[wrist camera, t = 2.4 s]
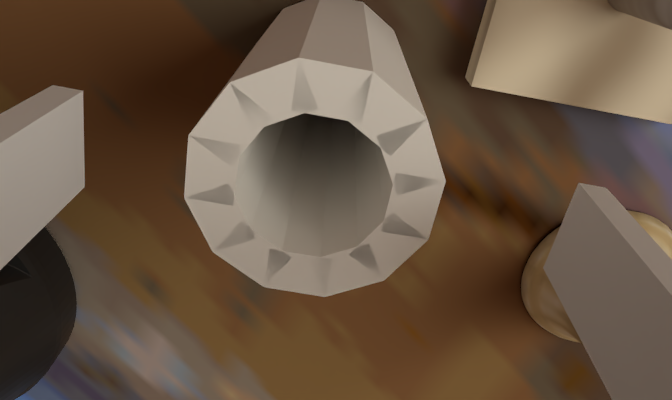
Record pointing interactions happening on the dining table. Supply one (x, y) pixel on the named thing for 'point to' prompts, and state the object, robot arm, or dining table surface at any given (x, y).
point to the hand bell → (542, 294)
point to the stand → (579, 54)
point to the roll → (316, 155)
